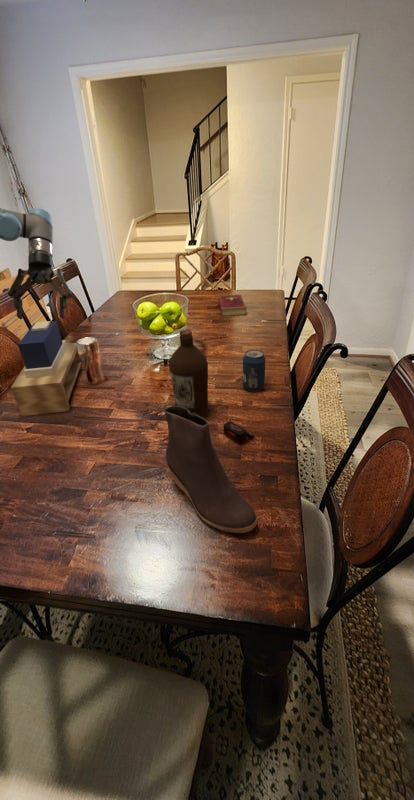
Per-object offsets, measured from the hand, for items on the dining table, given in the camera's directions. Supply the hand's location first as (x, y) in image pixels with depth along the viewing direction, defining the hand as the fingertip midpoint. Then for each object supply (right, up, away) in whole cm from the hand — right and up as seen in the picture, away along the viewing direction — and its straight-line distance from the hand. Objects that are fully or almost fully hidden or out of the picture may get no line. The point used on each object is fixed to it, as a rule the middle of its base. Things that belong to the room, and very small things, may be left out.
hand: (41, 317), depth 123 cm
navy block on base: (+4, -15, -3) cm, 15 cm away
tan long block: (+4, -24, +2) cm, 24 cm away
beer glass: (+17, -21, +5) cm, 27 cm away
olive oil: (+51, -31, -14) cm, 61 cm away
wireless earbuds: (+64, -38, -26) cm, 78 cm away
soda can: (+70, -24, -4) cm, 74 cm away
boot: (+56, -50, -44) cm, 87 cm away
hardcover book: (+68, +18, +64) cm, 95 cm away
